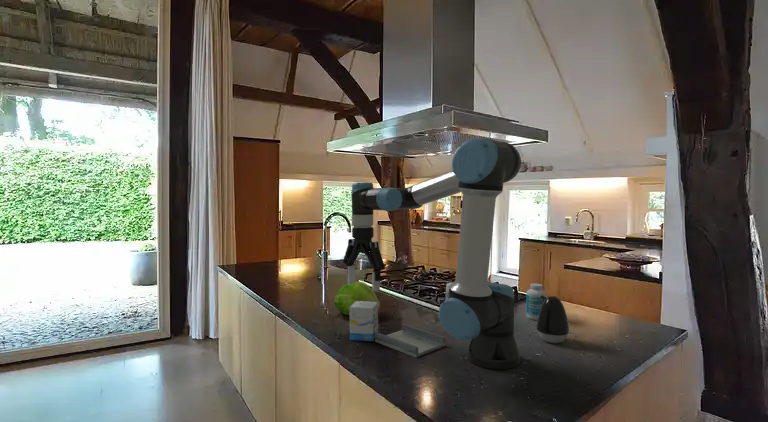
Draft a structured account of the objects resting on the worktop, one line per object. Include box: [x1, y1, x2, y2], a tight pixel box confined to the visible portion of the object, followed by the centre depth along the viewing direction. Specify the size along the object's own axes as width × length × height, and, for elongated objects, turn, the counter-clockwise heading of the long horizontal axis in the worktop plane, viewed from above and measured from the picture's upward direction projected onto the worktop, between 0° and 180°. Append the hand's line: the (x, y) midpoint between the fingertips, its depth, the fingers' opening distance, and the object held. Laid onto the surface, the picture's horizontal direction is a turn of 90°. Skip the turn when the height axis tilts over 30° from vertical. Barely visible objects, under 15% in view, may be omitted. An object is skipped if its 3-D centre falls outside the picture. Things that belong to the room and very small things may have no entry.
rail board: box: [374, 323, 446, 359], centre depth 137 cm, size 19×14×3 cm
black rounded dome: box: [536, 295, 570, 344], centre depth 138 cm, size 10×10×15 cm
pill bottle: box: [525, 282, 547, 321], centre depth 163 cm, size 8×7×14 cm
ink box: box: [349, 301, 379, 342], centre depth 144 cm, size 9×8×12 cm
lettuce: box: [333, 281, 381, 316], centre depth 170 cm, size 15×20×14 cm
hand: (363, 286), depth 144 cm, fingers open, 13 cm apart
